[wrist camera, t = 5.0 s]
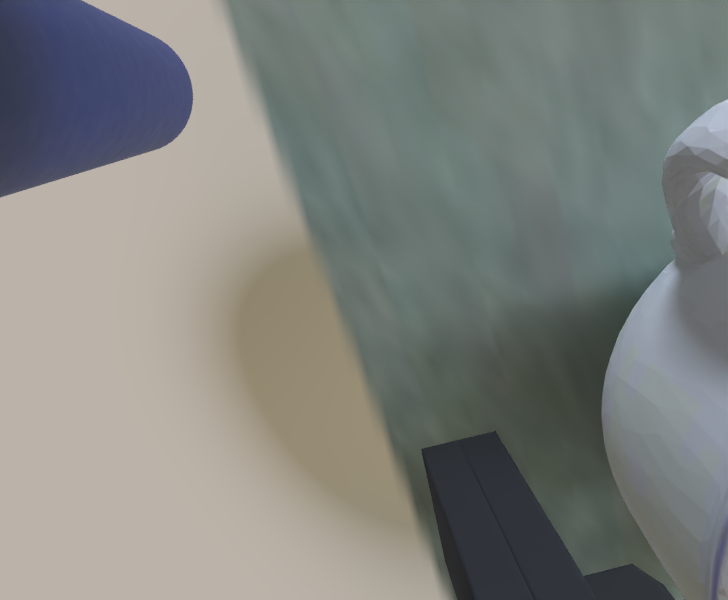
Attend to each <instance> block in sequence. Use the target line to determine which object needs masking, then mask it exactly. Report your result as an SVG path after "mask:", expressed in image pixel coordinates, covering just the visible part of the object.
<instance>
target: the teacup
mask: <svg viewBox="0 0 728 600" xmlns="http://www.w3.org/2000/svg"><path fill="white" fill-rule="evenodd" d="M662 186H663V191H664V195H665V200H666V204H667V209H668V212H669V215H670V219H671V222H672V225H673V231H672V235H671V245H672V249H673V251H674V253H675V255H676V258H675V259H674V260H673V261H672V262H671V263H670V264H668V265H667V266H666V267H665V268H664V270H663V271H662V272H661V273H660V274H659V275H658V277H657V278H656V279H655V280H654V281H653V282H652V284H651V285H650V286H649V287H648V288H647V290H646V291H645V292H644V293H643V295H642V296H641V298H640V299H639V301H638V302H637V303H636V305H635V306H634V308H633V309H632V311H631V313H630V315H629V317H628V318H627V320H626V322H625V324H624V326H623V327H622V329H621V331H620V333H619V335H618V338H617V341H616V344H615V346H614V349H613V352H612V355H611V357H610V361H609V364H608V367H607V371H606V374H605V381H604V388H603V394H602V427H603V436H604V444H605V449H606V453H607V457H608V461H609V465H610V468H611V471H612V474H613V477H614V479H615V482H616V484H617V486H618V488H619V491H620V493H621V495H622V497H623V499H624V502H625V504H626V505H627V507H628V509H629V511H630V512H631V514H632V516H633V517H634V519H635V521H636V522H637V524H638V526H639V527H640V529H641V531H642V533H643V534H644V536H645V538H646V539H647V541H648V542H649V544H650V546H651V547H652V549H653V551H654V552H655V554H656V556H657V557H658V559H659V560H660V562H661V563H662V565H663V566H664V568H665V570H666V571H667V573H668V574H669V576H670V577H671V579H672V580H673V582H674V583H675V585H676V586H677V588H678V589H679V591H680V592H681V594H682V595H683V596H684V598H685V599H686V600H728V100H725V101H723V102H721V103H719V104H716V105H714V106H713V107H712V108H711V109H709V110H708V111H707V112H705V113H704V114H703V115H702V116H700V117H699V118H698V119H696V120H695V121H694V122H693V123H692V124H691V125H690V126H689V127H688V128H687V129H686V130H685V131H684V132H683V133H682V134H681V135H680V136H679V137H678V138H677V139H676V140H675V142H674V143H673V144H672V146H671V147H670V149H669V150H668V152H667V155H666V157H665V160H664V165H663V179H662Z"/></svg>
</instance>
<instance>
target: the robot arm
mask: <svg viewBox="0 0 728 600" xmlns="http://www.w3.org/2000/svg"><path fill="white" fill-rule="evenodd" d="M421 450H422V455H423V459H424V464H425V469H426V473H427V478H428V483H429V488H430V492H431V497H432V502H433V506H434V511H435V516H436V520H437V525H438V530H439V534H440V539H441V544H442V548H443V553H444V558H445V562H446V565H447V568H448V572H449V575H450V578H451V581H452V584H453V587H454V590H455V594H456V597H457V600H675V599H674V598H673V597H672V595H671V594H670V593H669V591H668V590H667V589H666V587H665V586H664V585H663V584H661V583H660V582H658V581H657V580H655V579H654V578H652V577H651V576H649V575H648V574H646V573H645V572H643V571H642V570H640V569H639V568H637V567H636V566H634V565H633V564H630V565H626V566H622V567H618V568H614V569H610V570H606V571H602V572H598V573H594V574H590V575H586V576H583V575H582V573H581V572H580V570H579V568H578V567H577V565H576V563H575V562H574V560H573V558H572V557H571V555H570V553H569V552H568V550H567V548H566V547H565V545H564V544H563V542H562V540H561V539H560V537H559V535H558V534H557V532H556V530H555V529H554V527H553V525H552V524H551V522H550V520H549V519H548V517H547V515H546V514H545V512H544V511H543V509H542V507H541V506H540V504H539V502H538V501H537V499H536V497H535V496H534V494H533V492H532V491H531V489H530V487H529V486H528V484H527V482H526V481H525V479H524V478H523V476H522V474H521V473H520V471H519V469H518V468H517V466H516V464H515V463H514V461H513V459H512V458H511V456H510V454H509V453H508V451H507V449H506V448H505V446H504V445H503V443H502V441H501V440H500V438H499V436H498V435H497V433H496V431H494V432H490V433H486V434H482V435H477V436H473V437H469V438H465V439H461V440H457V441H453V442H449V443H444V444H440V445H436V446H432V447H428V448H424V449H421Z"/></svg>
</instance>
